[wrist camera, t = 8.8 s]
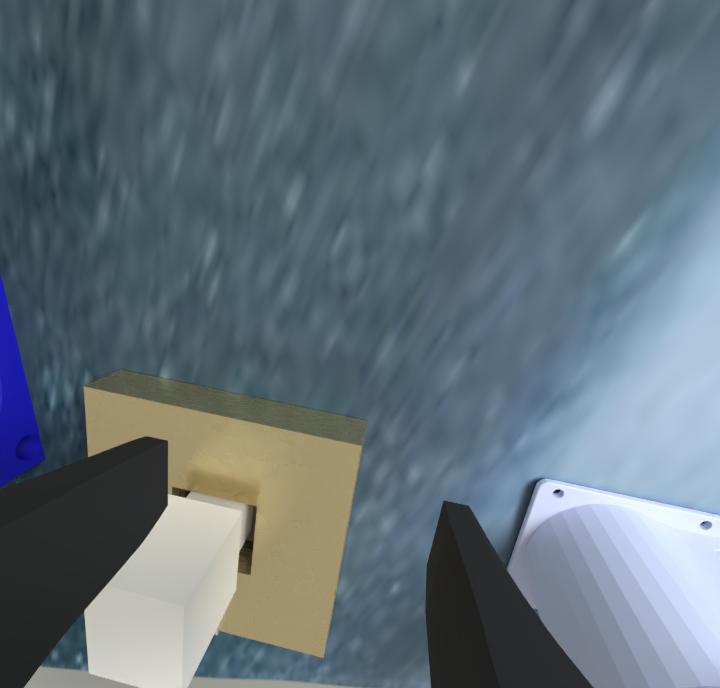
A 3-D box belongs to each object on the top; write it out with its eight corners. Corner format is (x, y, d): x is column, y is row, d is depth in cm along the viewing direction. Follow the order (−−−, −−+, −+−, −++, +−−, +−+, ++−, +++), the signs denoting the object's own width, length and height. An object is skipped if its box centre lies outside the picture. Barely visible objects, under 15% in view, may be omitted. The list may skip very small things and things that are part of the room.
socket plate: (368, 420, 21) (359, 455, 18) (332, 616, 25) (320, 673, 22) (119, 369, 22) (70, 392, 19) (126, 564, 26) (86, 610, 23)
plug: (265, 474, 22) (184, 606, 14) (258, 545, 23) (181, 699, 16) (196, 458, 22) (81, 580, 15) (194, 530, 24) (89, 673, 16)
